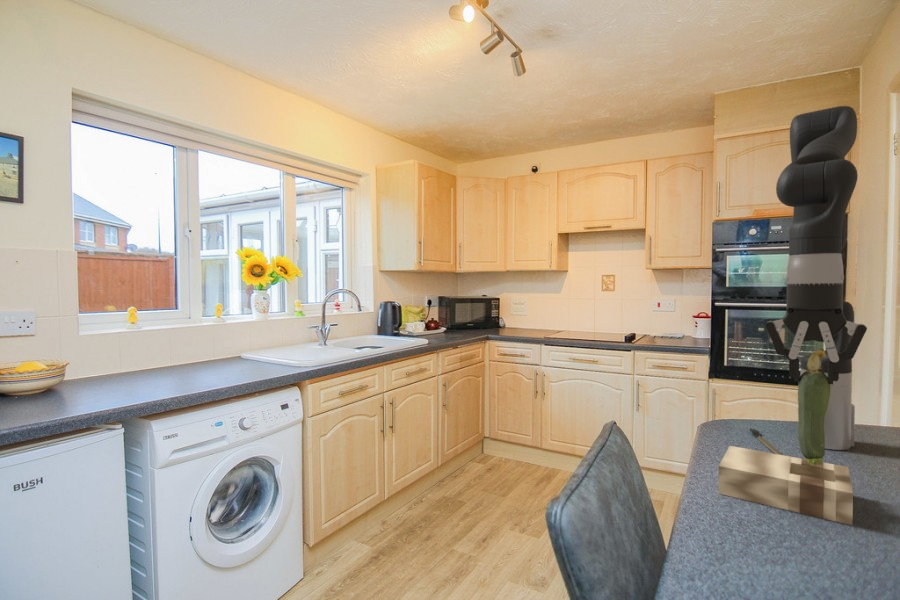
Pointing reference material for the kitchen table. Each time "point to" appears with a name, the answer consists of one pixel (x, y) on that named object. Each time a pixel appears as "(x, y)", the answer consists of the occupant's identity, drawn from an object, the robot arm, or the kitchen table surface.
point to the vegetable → (813, 409)
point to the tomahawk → (765, 442)
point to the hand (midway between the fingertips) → (812, 381)
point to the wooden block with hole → (787, 483)
